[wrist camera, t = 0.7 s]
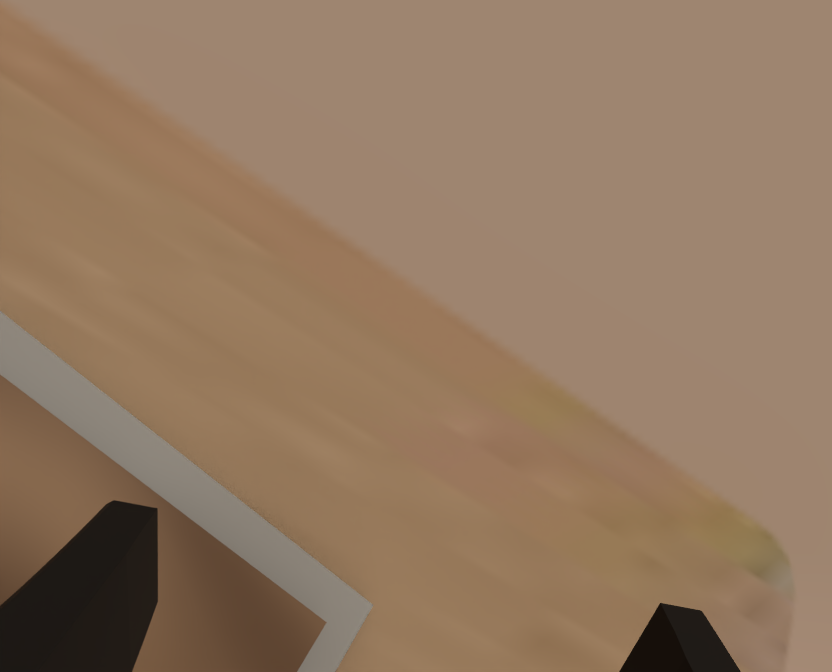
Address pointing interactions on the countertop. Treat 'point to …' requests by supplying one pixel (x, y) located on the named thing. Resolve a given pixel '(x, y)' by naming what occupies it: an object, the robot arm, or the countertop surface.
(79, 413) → the mat
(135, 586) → the robot arm
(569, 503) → the countertop surface
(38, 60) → the countertop surface
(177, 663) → the lid
